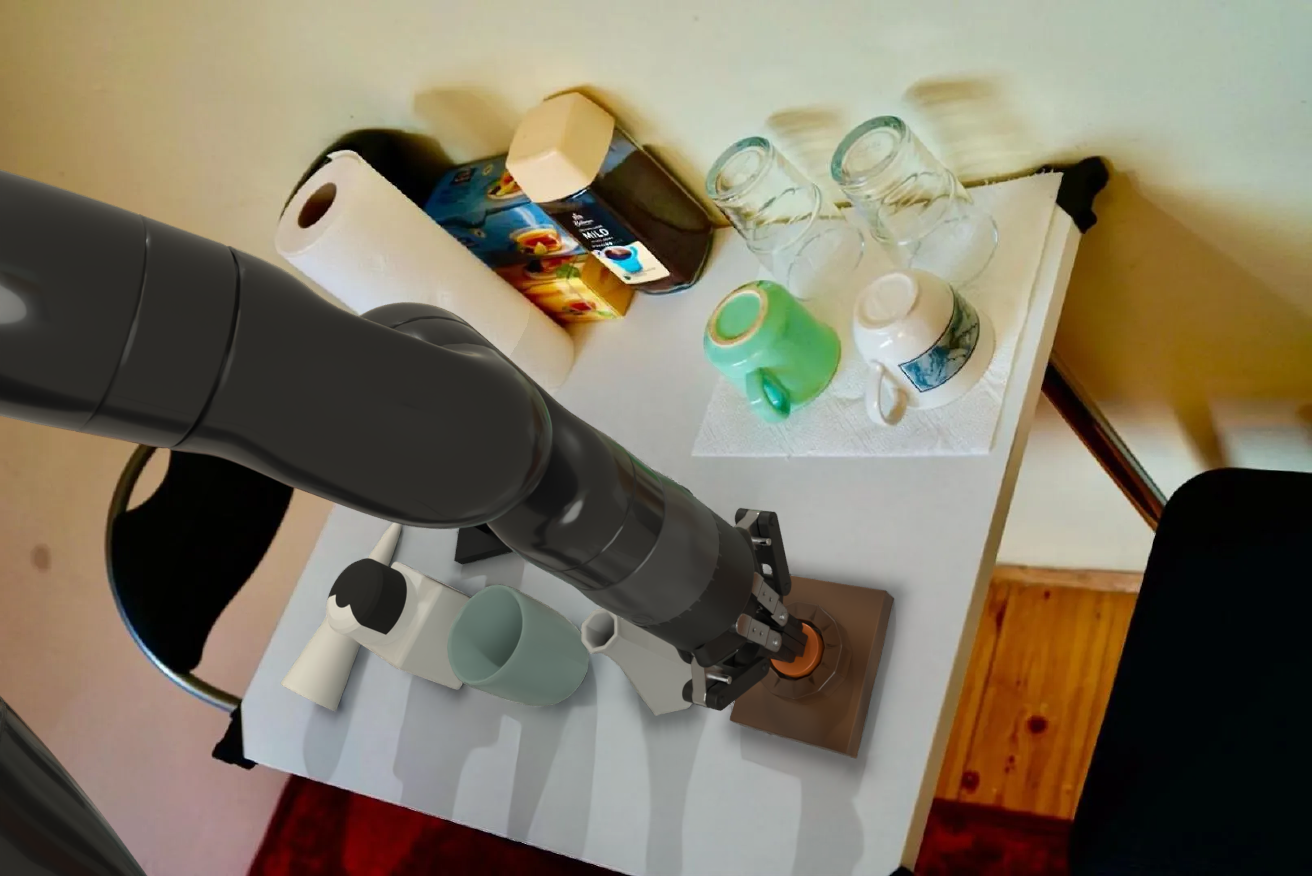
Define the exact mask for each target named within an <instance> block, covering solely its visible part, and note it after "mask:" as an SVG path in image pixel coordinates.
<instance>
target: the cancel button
mask: <svg viewBox="0 0 1312 876" xmlns="http://www.w3.org/2000/svg"><path fill="white" fill-rule="evenodd" d="M802 625H803V631H802V632H803V633H805V634H806V635H807V636H808V639H807V643H806V647H805V651H804V655H803V657H797V656H796V657H795V661H794V662H793V663H787V662H783V661H778V660H774V659H771V661H772V663H773V665H774V666H775V667H776V669H778V670H779V671H780V672H782V673H783V674H785V675H787V676H788V677H790V678H792V679H794V680H799V679H802V678H805V677H808V676H810V675H811V674H812V673H813V672H814V670H815V669H816V668H817V667H818V666H819V665H820V664H821V661H822V657H823V653H824V649H825V645H824V641H823V637H822V635H821V634H819V633H818V632H817V631H815V630H814V629H813V628H811V627H810V626H808V625H807V624H804V623H802Z"/></svg>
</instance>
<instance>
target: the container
mask: <svg viewBox="0 0 1312 876" xmlns="http://www.w3.org/2000/svg"><path fill="white" fill-rule="evenodd" d="M471 597H472V596H470V595H468V594H467V593H464V592H463V591H461V590H459V589H457V588H455V587H453V586H450V585H449V584H446V583H445V582H442V581H440V580H438V579H436V578H433V577H432V576H430V575H427V574H425V573H423V572H421V571H419V570H416V569H414V568H413V567H411V566H408V565H406V564H404V563H402V562H400V561H394V562H392V564H391V566H390V565H389V566H386V565H384V564H382V563H380V562H378V561H376V560H373V559H370V558H368V557H365V558H361V559H359V560H356V561H354V562H351V563H350V564H349V565H347V566H346V567H345V568H344V569H343V570H342V571H341V572H340V573H339V575H338V576H337V578H336V579H335V581H334V582H333V584H332V586H331V588H330V591H329V593H328V596H327V599H326V600H327V601H326V605H325V606H326V607H325V615H326V616H327V620H328V623H329V625H330V627H331V628H332V630H334V631H335V632H337V633H339V634H342V635H345V636H348V637H350V638H353V639H354V640H355V641H357V642H358V643H360V646H363V647H364V648H366V649H367V650H369V651H370V652H372V653H373V654H375V655H376V656H378V657H379V658H381V659H382V660H383V661H385V662H386V663H388V664H389V665H391V666H392V667H393V668H395V669H396V670H400V671H402V672H405V673H408V674H410V675H414V676H416V677H419V678H422V679H425V680H427V681H430V682H434V683H436V684H438V685H441V686H444V687H446V688H447V687H448V688H450V689H453V690H460V689H461V687H462V686H463V684H464V683H463V682H462V681H460V680H459V679H458V678H457V677H456V675H455V674H454V672H453V670H452V668H451V666H450V663H449V659H448V651H447V644H448V636H449V632H450V628H451V626H452V623H453V621H454V619H455V617H456V616H457V614H458V612H459V611H460V610H461V608H462V607H463V606H464V605H465V603H466V602H467V601H468V600H469V599H470V598H471Z"/></svg>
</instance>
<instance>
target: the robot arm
mask: <svg viewBox="0 0 1312 876" xmlns="http://www.w3.org/2000/svg"><path fill="white" fill-rule="evenodd" d="M0 417H3V418H8V419H12V420H16V421H21V422H24V423H25V422H26V423H29V424H35V425H40V426H45V427H50V428H54V429H55V428H56V429H60V430H65V431H70V432H75V433H80V434H85V435H90V436H94V437H95V436H96V437H101V438H107V439H111V440H117V441H121V442H127V443H133V444H137V445H142V446H143V445H144V446H148V447H152V448H154V447H155V448H159V449H168V450H171V451H177V452H182V453H189V454H197V455H205V456H211V457H216V458H219V459H222V460H226V461H229V462H232V463H234V464H237V465H240V466H243V467H245V468H248V469H250V470H252V471H255V472H257V473H259V474H261V475H263V476H265V477H268V478H270V479H272V480H274V481H277V482H278V483H281V484H283V485H286V486H288V487H291V488H294V489H297V490H299V491H302V492H305V493H308V494H310V495H313V496H316V497H319V498H321V499H324V500H326V501H329V502H331V503H335V504H337V505H340V506H342V507H345V508H347V509H351V510H354V511H355V512H356V511H357V512H360V513H362V514H365V515H368V516H371V517H375V518H377V519H380V520H384V521H387V522H391V523H398V524H401V525H402V526H408V527H414V528H420V529H431V530H456V529H459V528H466V527H471V526H476V525H480V524H484V523H486V524H487V525H488V526H489V527H490V529H491V530H492V531H493V532H494V533H495V534H496V535H497V536H498V537H499V538H500V539H501V540H502V541H503V542H504V543H505V544H506V545H507V546H508V547H509V548H510V549H512V550H513V552H514V553H515V554H516V555H518V556H519V557H520V558H522V559H523V560H525V561H527V562H528V563H530V564H532V565H533V566H535V567H537V568H539V569H540V570H542V571H544V572H546V573H548V574H550V575H552V576H553V577H555V578H557V579H559V580H561V581H563V582H565V583H566V584H569V585H570V586H572V587H574V588H575V589H576V590H577V591H579V592H580V593H581V594H582V595H583V596H584V597H585V598H587V599H588V600H590V601H591V602H592V603H594V604H595V605H597V606H599V608H604V609H606V610H608V611H609V612H611V613H613V614H615V615H617V616H618V617H620V618H622V619H624V620H626V621H628V622H630V623H632V624H634V625H636V626H637V627H639V628H641V629H643V630H645V631H647V632H649V633H651V634H652V635H654V636H656V637H658V638H660V639H662V640H664V641H666V642H667V643H669V644H671V645H673V646H674V647H675V648H676V649H677V651H678V654H679V656H680V658H681V659H682V660H683V661H684V662H686V663H688V664H691V673H692V679H690V680H689V681H687V682H686V683H685V685H684V687H683V690H682V698H683V700H684V701H686V702H690V703H692V704H693V705H696V706H699V707H703V708H707V709H711V710H715V711H719V712H722V711H723V710H725V709H726V708H727V707H729V706H730V705H731V704H732V703H734V702H735V700H736V699H737V698H739V697H740V696H741V695H742V694H744V693H745V692H746V691H748V690H749V689H750V688H751V687H753V686H754V685H755V684H757V683H758V682H759V681H760V680H762V679H763V678H764V677H765V676H766V675H767V674H768V672H769V668H770V662H769V659H768V657H769V658H771V659H774V660H778V661H783V662H787V663H793V662H794V661H795V657H796V656H797V657H803V655H804V651H805V647H806V643H807V639H808V636H807V635H806V634H805V633H803V632H802V631H803V625H802V622H801V621H799V620H798V619H797V618H795V617H794V616H792V615H791V614H790V613H788V609H787V608H786V607H785V606H784V605H783V596H787V595H788V594H789V593H790V591H791V578H790V575H791V574H790V569H789V564H788V559H787V555H786V550H785V545H784V540H783V536H782V531H781V525H780V521H779V517H778V514H777V511H771V510H763V509H762V510H761V509H753V508H746V507H745V508H744V507H739V508H738V509H737V510H736V511H735V513H734V524H735V525H734V526H733V525H732V524H730V523H729V522H728V521H726V520H725V519H724V518H722V517H721V516H720V515H719V514H718V513H716V512H715V511H713V510H712V509H711V508H710V507H709V506H707V505H706V504H705V503H703V502H702V501H701V500H700V499H698V498H697V497H696V496H694V494H693V492H692V491H691V490H690V489H689V488H687V487H686V486H685V485H682V484H680V483H678V482H677V481H675V480H674V479H672V478H670V477H668V476H667V475H665V474H663V473H661V472H659V471H657V470H654V469H653V468H651V467H650V466H648V465H647V464H646V463H644V461H642V460H641V459H639V457H637V456H636V455H634V454H633V453H631V451H629V450H628V449H627V448H625V447H624V446H623V445H622V444H620V443H619V442H618V441H616V440H615V439H614V438H612V437H611V436H609V435H608V434H607V433H605V432H603V431H601V430H599V428H596V427H594V426H593V425H591V424H590V423H588V422H586V421H585V420H583V419H582V418H580V417H579V416H577V415H576V414H574V413H573V412H571V411H570V410H569V409H567V408H566V407H564V406H563V405H562V404H561V403H559V402H558V401H557V400H556V399H555V398H554V397H553V396H552V395H551V394H549V392H548V391H547V390H545V388H543V387H542V386H541V385H539V384H538V382H537V381H535V379H533V378H532V377H531V376H530V375H529V374H527V372H525V371H524V370H523V369H522V368H521V367H520V366H518V365H517V364H516V363H515V362H514V361H513V360H511V359H510V358H509V357H508V356H507V355H506V354H505V353H503V352H502V350H500V349H499V348H498V347H497V346H495V345H494V343H492V342H491V341H490V340H489V339H487V338H486V337H485V336H484V335H483V334H481V333H480V332H479V331H478V330H477V329H476V328H474V327H473V325H471V324H470V323H469V322H467V321H466V320H465V319H463V318H462V317H461V316H459V315H457V314H456V313H454V312H452V311H450V310H448V309H445V308H442V307H440V306H436V305H432V304H428V303H423V302H414V301H413V302H412V301H405V302H403V301H402V302H401V301H400V302H393V303H388V304H383V305H380V306H377V307H374V308H371V309H369V310H367V311H365V312H363V313H361V314H360V315H356V314H355V313H351V312H350V311H347V310H344V309H343V308H340V307H338V306H336V305H335V304H333V303H331V302H330V301H328V300H327V299H325V298H324V297H323V296H321V295H319V294H318V293H317V292H315V291H314V290H313V289H312V288H311V287H310V286H308V285H307V284H305V282H303V281H302V280H300V279H299V278H298V277H297V276H295V275H294V274H293V273H291V272H289V271H287V270H286V269H284V268H282V267H280V266H278V265H276V264H274V263H272V262H270V261H268V260H265V259H264V258H261V257H259V256H257V255H254V254H252V253H249V252H247V251H244V250H242V249H239V248H236V247H234V246H231V245H226V244H224V243H222V242H221V241H220V242H219V241H217V240H215V239H211V238H208V237H205V236H203V235H200V234H197V233H194V232H191V231H188V230H186V229H183V228H180V227H178V226H174V225H172V224H169V223H166V222H163V221H160V220H157V219H155V218H151V217H150V216H147V215H143V214H141V213H138V212H135V211H133V210H129V209H126V208H123V207H121V206H118V205H114V204H112V203H109V202H106V201H103V200H100V199H97V198H94V197H92V196H87V195H86V194H81V193H79V192H76V191H73V190H70V189H67V188H63V187H60V186H57V185H54V184H51V183H48V182H44V181H41V180H37V179H34V178H31V177H27V176H24V175H21V174H18V173H15V172H12V171H8V170H4V169H2V168H0ZM763 565H767V566H769V567H770V570H771V573H772V574H773V575H772V574H771V573H765V572H764V567H763ZM0 876H148V874H147V873H146V872H145V870H144V869H143V868H142V866H141V865H140V863H139V862H138V861H137V859H136V857H134V855H133V854H132V853H131V851H130V850H129V848H128V847H127V846H126V844H125V843H124V841H123V840H122V839H121V837H120V836H119V835H118V833H117V831H115V829H114V827H112V825H111V824H110V822H109V821H108V820H107V819H106V817H105V816H104V815H103V814H102V812H101V811H100V810H99V808H98V807H97V805H96V804H95V803H94V802H93V801H92V799H91V798H90V797H89V795H88V794H87V793H86V791H85V790H84V789H83V787H81V785H80V784H79V783H78V781H76V780H75V778H74V777H73V776H72V774H71V773H70V772H69V771H68V769H66V767H65V766H64V765H63V764H62V762H61V761H60V760H59V759H58V758H57V757H56V756H55V754H54V752H52V751H51V749H50V748H49V747H48V745H46V744H45V743H44V741H43V740H42V739H41V738H40V737H39V736H38V735H37V733H36V732H35V730H33V729H32V728H31V726H30V725H29V724H28V723H27V722H26V721H25V720H24V719H23V718H22V717H21V716H20V715H19V713H18V712H17V711H16V710H15V709H14V708H13V706H11V705H10V704H9V702H7V701H6V700H5V699H4V698H3V697H2V696H1V695H0Z"/></svg>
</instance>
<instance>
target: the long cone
mask: <svg viewBox="0 0 1312 876" xmlns="http://www.w3.org/2000/svg"><path fill="white" fill-rule="evenodd" d="M402 526H403V525H402V524H398V523H394V522H392V523H391V524H390V526H389V527H388V528H387V529H386V530H385V532H384V533H383V535H382V536H381V538H380V539H379V540H378V542H377V543H376V544H375V546H374V548H373V549H372V550H371V552H370V553H369V555H368V556H367V558H370V559H373V560H376V561H378V562H380V563H382V564H384V565H386V566H389V567H390V564H391V562H392V558H393V555H394V553H395V550H396V546H397V544H398V542H399V538H400V536H401V531H402ZM360 647H361V644H360V643H358V642H357V641H355V640H354V639H353V638H350V637H348V636H345V635H342V634H339V633H337V632H335V631H334V630H332V628H331V627H330V625H329V623H328V620H327V615H326V616H325V618H324V619H323V621H322V622H321V624H320V625H319V626H318V628H317V630H316V631H314V634H313V635H312V637H311V638H310V640H309V641H308V642H307V644H306V645H305V646H304V648H303V650H302V651H301V652H300V654H299V655H298V657H297V658H296V660H295V661H294V662H293V664H292V666H290V668H289V670H288V671H287V673H286V674H285V676H284V677H283V678H282V680H281V682H280V686H282V687H284V688H285V689H288V690H289V691H291V692H293V693H295V694H297V695H299V696H300V697H302V698H305V699H306V700H308V701H310V702H313V703H314V704H317V705H319V706H321V707H324V708H326V709H328V710H330V711H333V712H337V711H338V707H339V706H340V702H341V699H342V696H343V694H344V691H345V689H346V686H347V683H348V680H349V677H350V673H351V671H352V669H353V667H354V666H353V665H354V664H355V660H356V657H357V655H358V652H359V649H360Z"/></svg>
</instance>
